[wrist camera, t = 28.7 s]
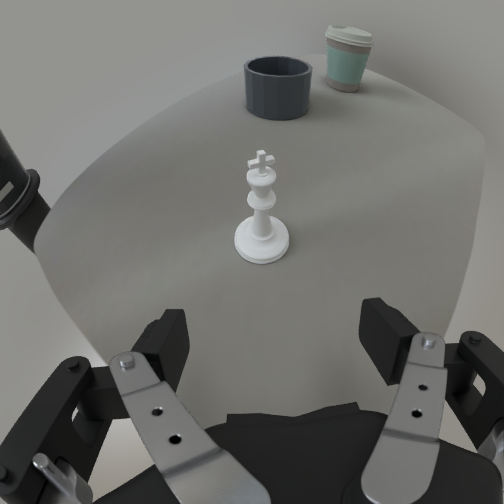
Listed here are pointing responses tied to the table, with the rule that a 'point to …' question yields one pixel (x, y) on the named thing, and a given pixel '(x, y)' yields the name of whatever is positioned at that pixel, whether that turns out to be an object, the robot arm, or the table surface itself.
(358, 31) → the coffee cup
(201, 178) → the table surface
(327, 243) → the table surface
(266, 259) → the chess piece
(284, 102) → the tumbler
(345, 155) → the table surface
